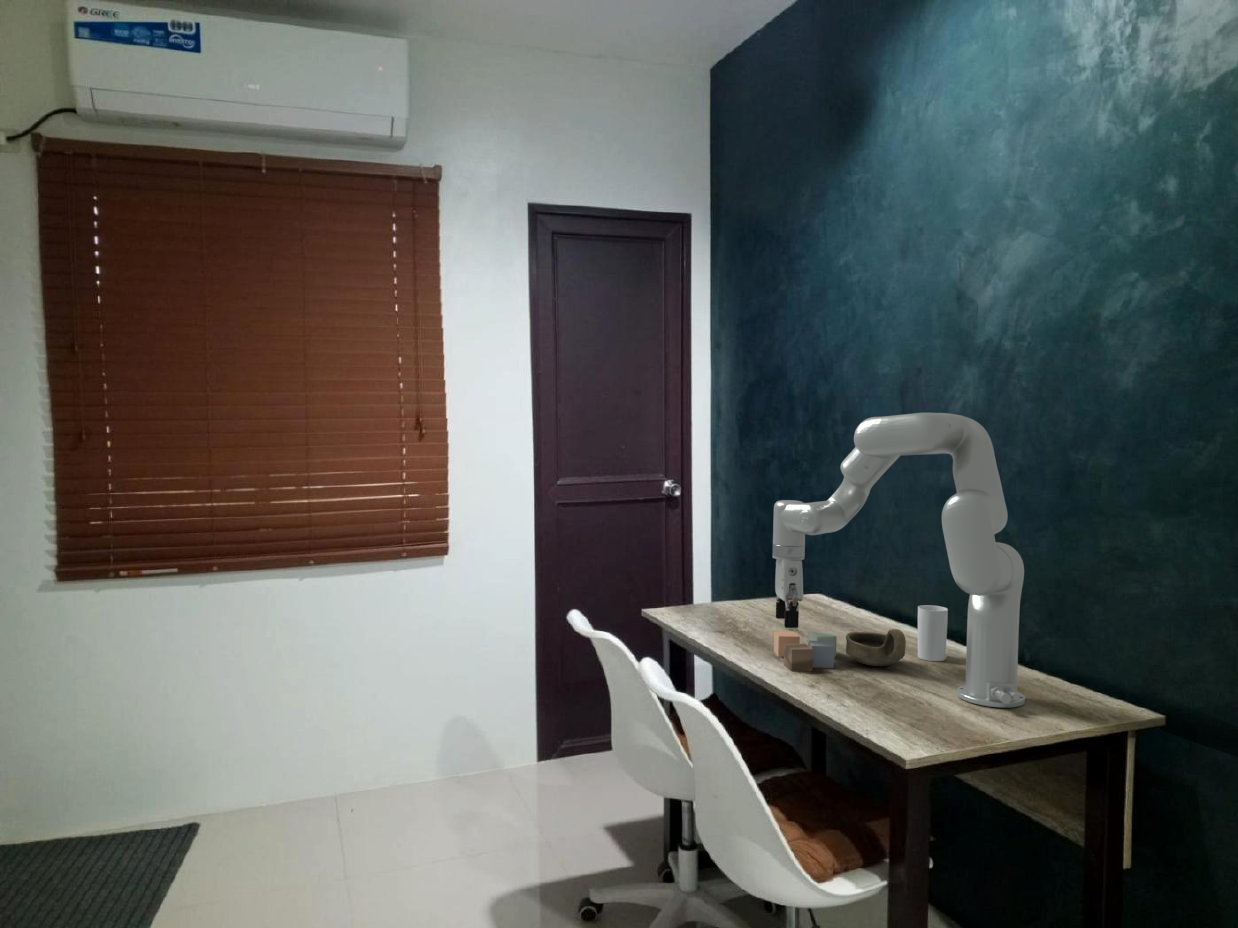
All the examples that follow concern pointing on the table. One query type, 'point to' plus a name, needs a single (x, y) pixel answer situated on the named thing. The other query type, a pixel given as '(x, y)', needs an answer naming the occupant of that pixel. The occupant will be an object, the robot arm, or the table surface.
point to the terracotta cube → (784, 641)
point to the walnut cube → (798, 657)
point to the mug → (932, 632)
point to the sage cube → (822, 638)
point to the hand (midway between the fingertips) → (786, 622)
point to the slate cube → (822, 654)
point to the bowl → (876, 647)
